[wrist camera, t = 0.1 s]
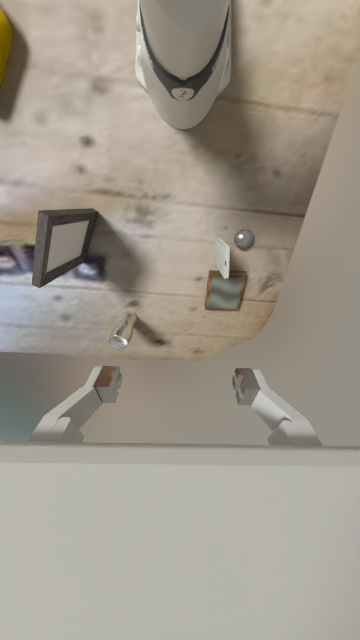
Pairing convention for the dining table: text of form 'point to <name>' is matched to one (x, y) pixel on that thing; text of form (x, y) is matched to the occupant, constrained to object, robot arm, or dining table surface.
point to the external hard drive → (222, 257)
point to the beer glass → (123, 331)
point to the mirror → (224, 290)
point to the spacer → (243, 238)
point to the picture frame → (61, 242)
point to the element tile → (4, 42)
